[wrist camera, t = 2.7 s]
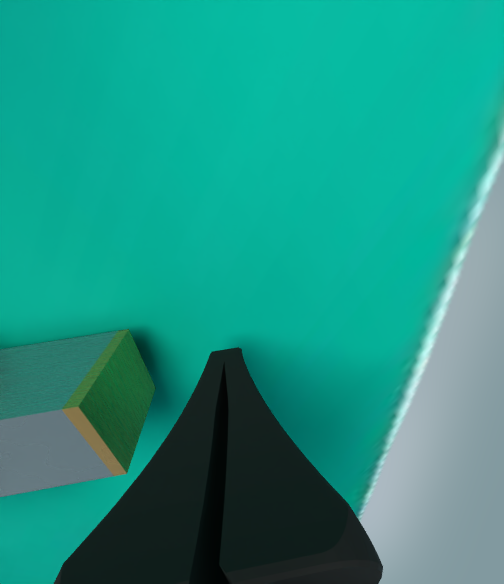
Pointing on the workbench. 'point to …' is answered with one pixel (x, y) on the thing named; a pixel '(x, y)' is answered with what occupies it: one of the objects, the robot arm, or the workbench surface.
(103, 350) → the peg
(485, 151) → the workbench surface
